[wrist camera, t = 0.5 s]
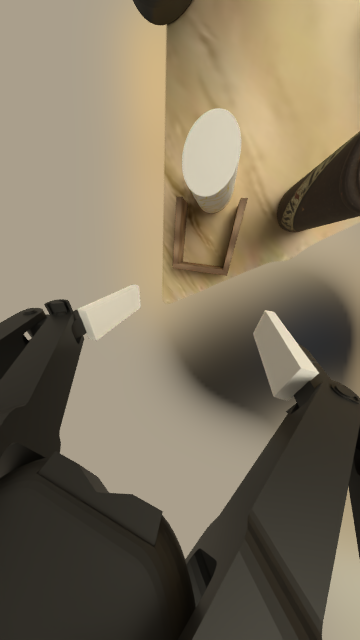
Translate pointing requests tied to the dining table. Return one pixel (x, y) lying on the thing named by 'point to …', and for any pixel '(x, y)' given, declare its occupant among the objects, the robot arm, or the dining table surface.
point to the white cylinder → (212, 159)
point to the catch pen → (180, 237)
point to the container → (325, 192)
